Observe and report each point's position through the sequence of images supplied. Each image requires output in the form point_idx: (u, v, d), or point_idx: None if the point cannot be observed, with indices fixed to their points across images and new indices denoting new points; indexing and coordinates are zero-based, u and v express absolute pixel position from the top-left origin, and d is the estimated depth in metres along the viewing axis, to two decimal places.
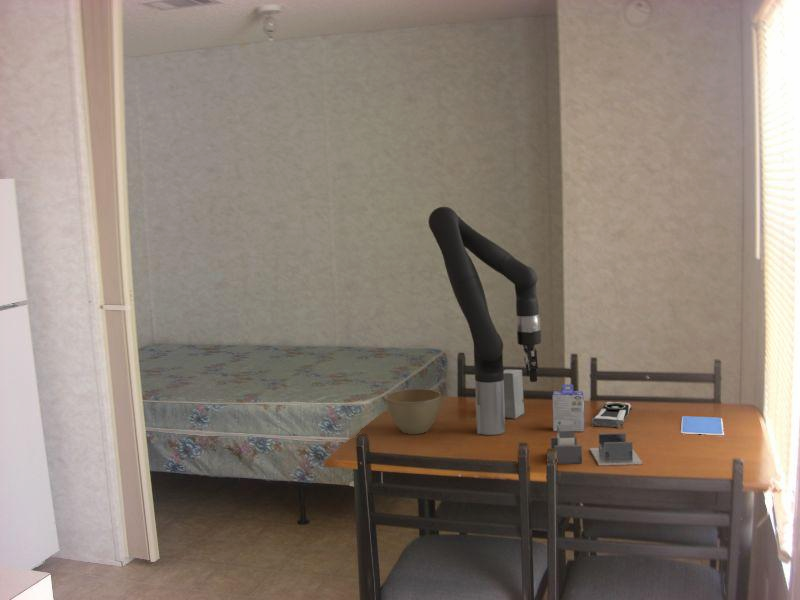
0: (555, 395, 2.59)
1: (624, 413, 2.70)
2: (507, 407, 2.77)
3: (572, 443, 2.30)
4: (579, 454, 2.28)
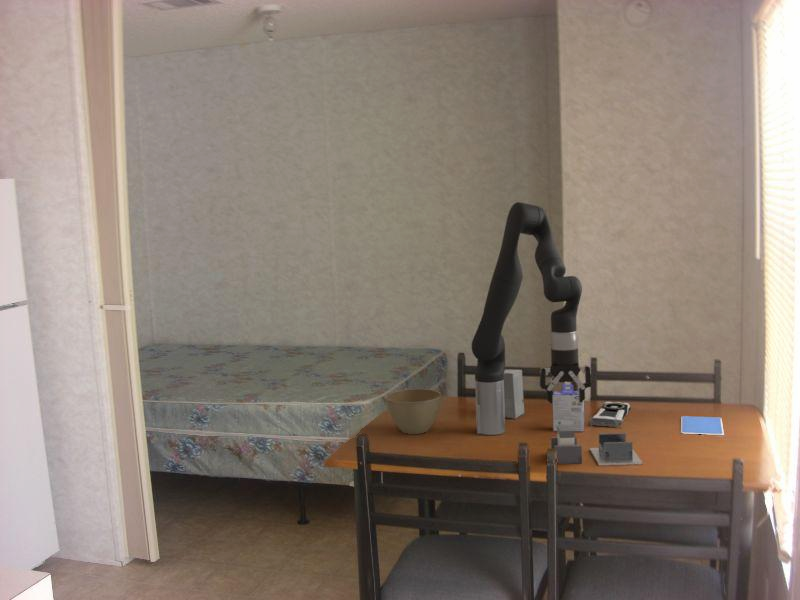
0: (555, 395, 2.59)
1: (623, 413, 2.71)
2: (507, 407, 2.77)
3: (572, 443, 2.30)
4: (579, 454, 2.28)
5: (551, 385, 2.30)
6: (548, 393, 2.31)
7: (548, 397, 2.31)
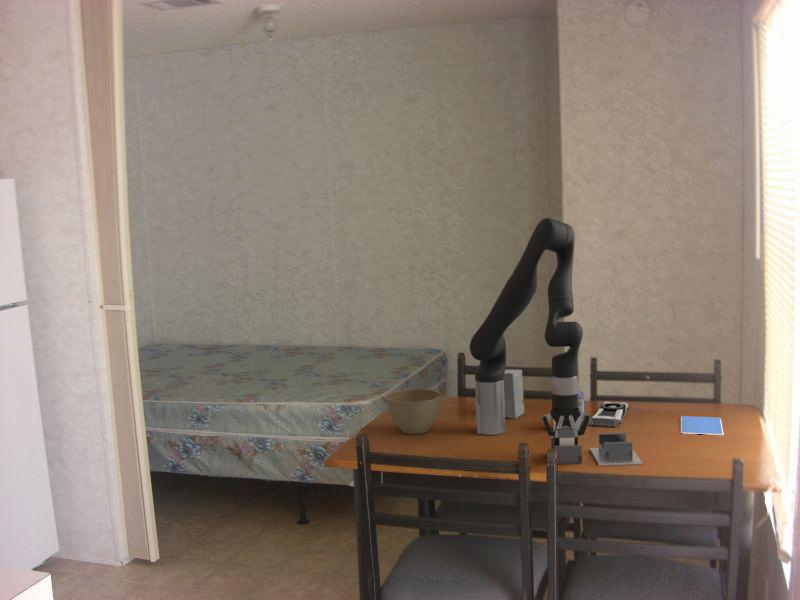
0: None
1: (621, 412, 2.71)
2: (507, 407, 2.77)
3: (572, 443, 2.30)
4: (579, 454, 2.28)
5: (557, 432, 2.31)
6: (555, 440, 2.32)
7: (555, 444, 2.32)
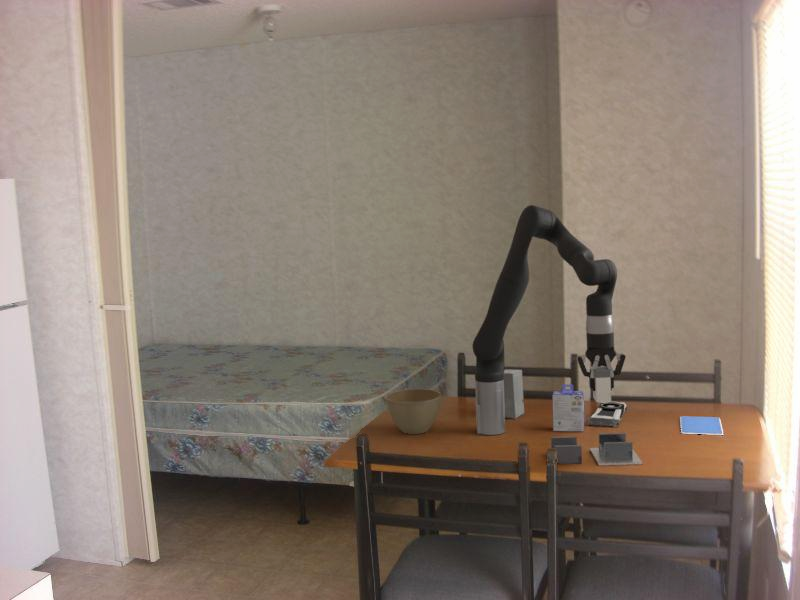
0: (555, 395, 2.59)
1: (620, 412, 2.72)
2: (507, 407, 2.77)
3: (608, 383, 2.27)
4: (579, 454, 2.28)
5: (592, 372, 2.28)
6: (591, 381, 2.29)
7: (591, 385, 2.29)
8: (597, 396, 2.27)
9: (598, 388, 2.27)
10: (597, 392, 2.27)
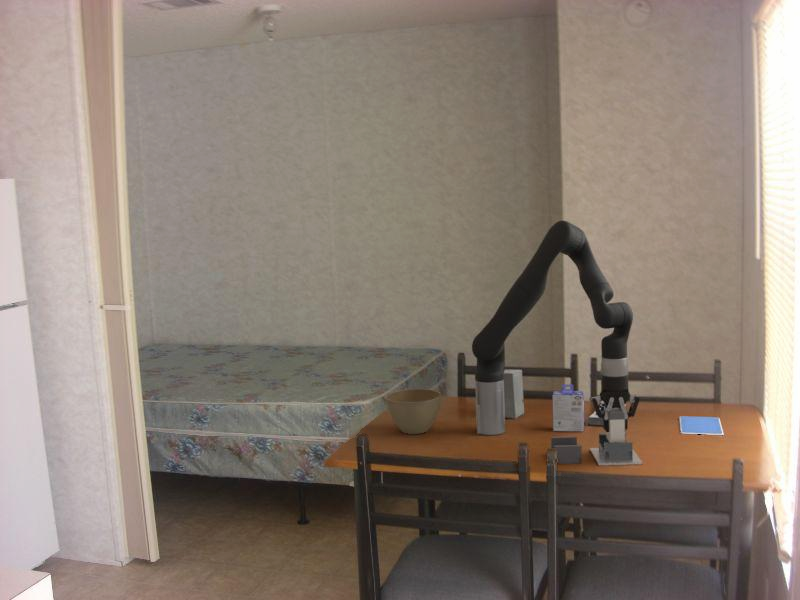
0: (555, 395, 2.59)
1: None
2: (507, 407, 2.77)
3: (622, 425, 2.28)
4: (579, 454, 2.28)
5: (607, 413, 2.30)
6: (605, 422, 2.31)
7: (605, 426, 2.31)
8: (611, 438, 2.29)
9: (612, 430, 2.29)
10: (611, 434, 2.29)
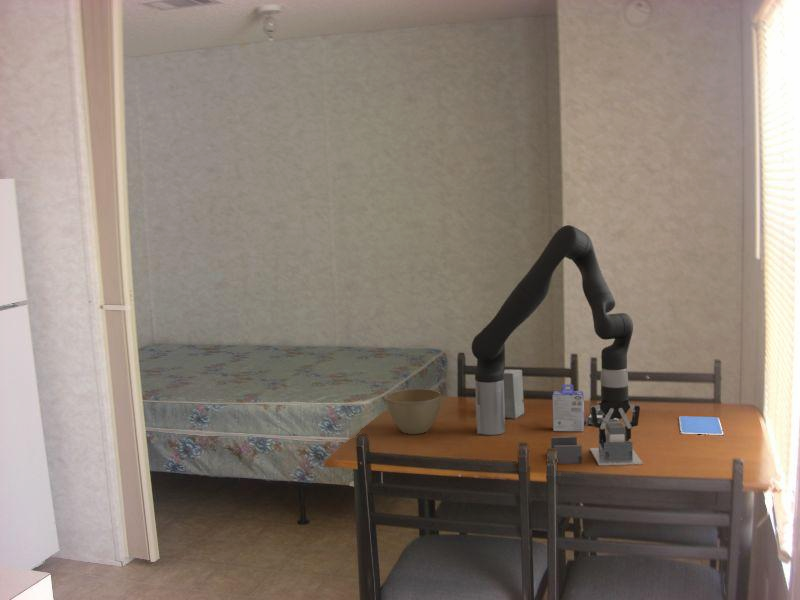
0: (555, 395, 2.59)
1: None
2: (507, 407, 2.77)
3: (622, 439, 2.29)
4: (579, 454, 2.28)
5: (603, 423, 2.30)
6: (601, 431, 2.31)
7: (601, 435, 2.31)
8: None
9: None
10: None
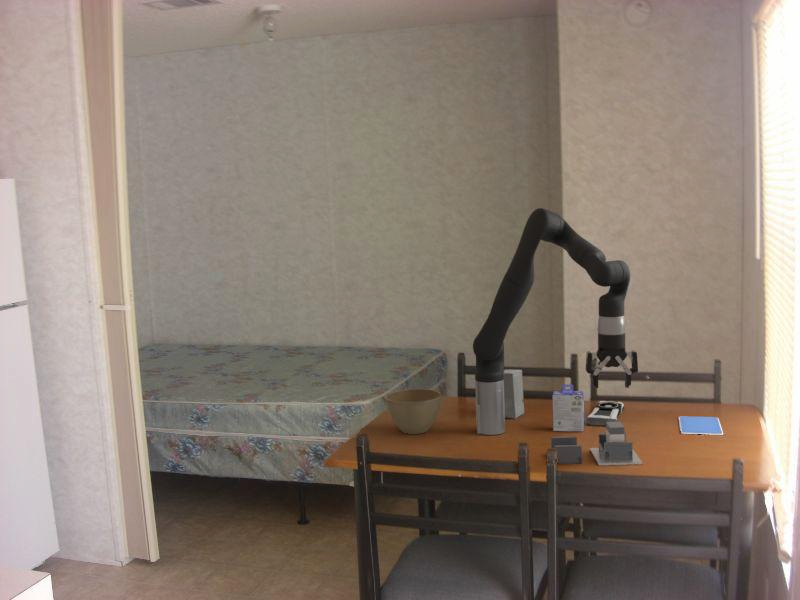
0: (555, 395, 2.59)
1: (617, 412, 2.72)
2: (507, 407, 2.77)
3: (622, 439, 2.29)
4: (579, 454, 2.28)
5: (597, 370, 2.29)
6: (594, 378, 2.30)
7: (594, 382, 2.30)
8: None
9: None
10: None
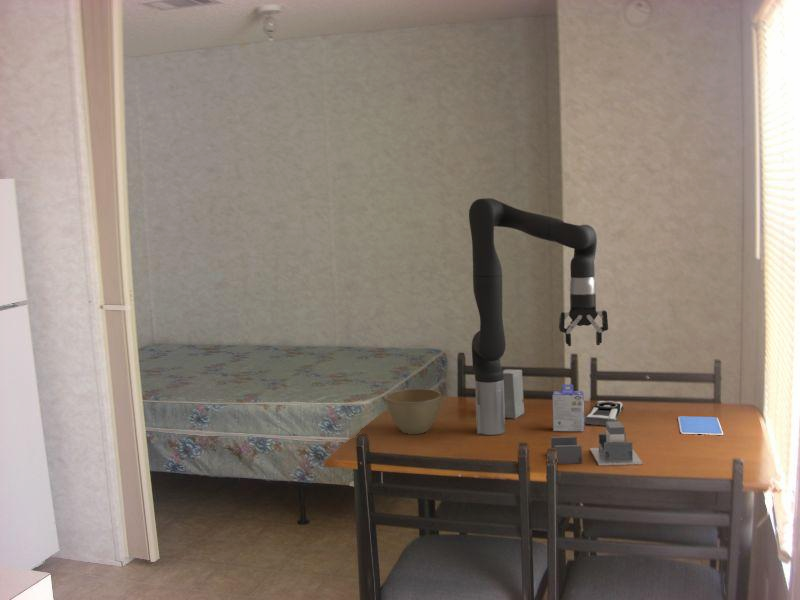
0: (555, 395, 2.59)
1: (616, 412, 2.73)
2: (507, 407, 2.77)
3: (622, 439, 2.29)
4: (579, 454, 2.28)
5: (570, 328, 2.43)
6: (567, 336, 2.43)
7: (567, 340, 2.44)
8: None
9: None
10: None
